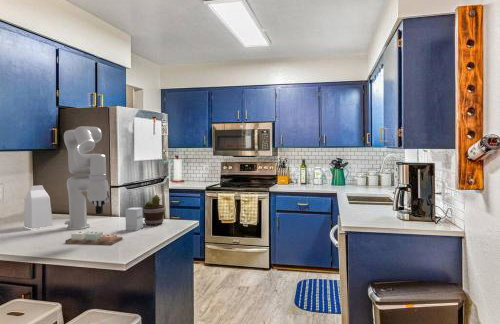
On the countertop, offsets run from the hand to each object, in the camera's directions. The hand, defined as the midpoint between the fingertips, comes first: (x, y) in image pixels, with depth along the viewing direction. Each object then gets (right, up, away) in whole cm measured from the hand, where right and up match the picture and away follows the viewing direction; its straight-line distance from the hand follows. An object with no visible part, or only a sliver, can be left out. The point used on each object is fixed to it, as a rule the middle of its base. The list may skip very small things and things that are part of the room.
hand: (99, 213), depth 184 cm
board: (-3, -15, +1) cm, 15 cm away
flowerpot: (+17, -13, +43) cm, 48 cm away
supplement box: (+9, -14, +28) cm, 33 cm away
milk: (-54, -14, +38) cm, 68 cm away
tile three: (+5, -14, 0) cm, 15 cm away
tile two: (-3, -13, +1) cm, 13 cm away
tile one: (-11, -13, +2) cm, 17 cm away
